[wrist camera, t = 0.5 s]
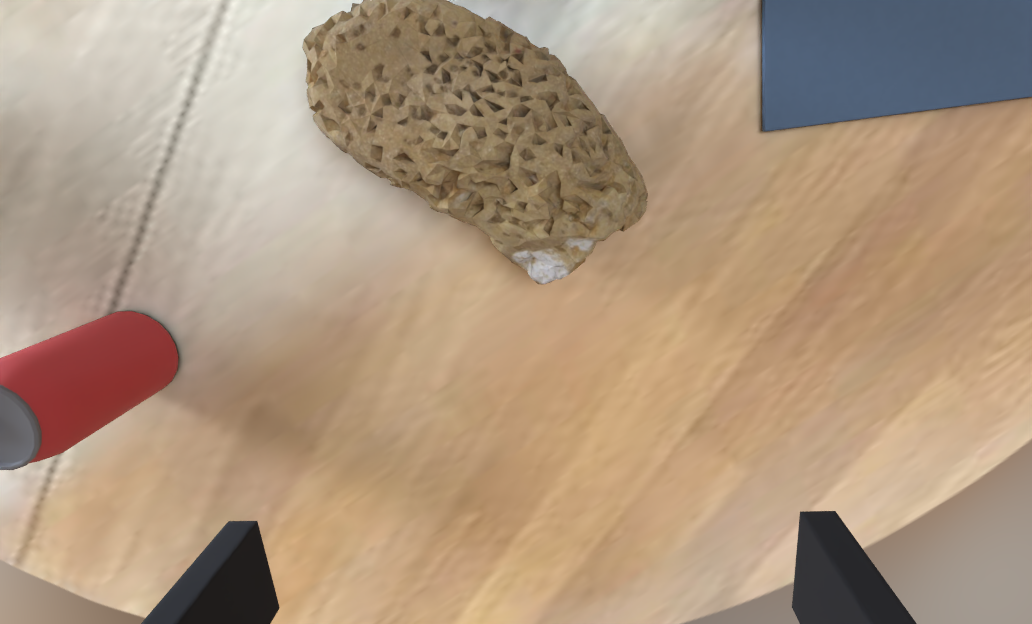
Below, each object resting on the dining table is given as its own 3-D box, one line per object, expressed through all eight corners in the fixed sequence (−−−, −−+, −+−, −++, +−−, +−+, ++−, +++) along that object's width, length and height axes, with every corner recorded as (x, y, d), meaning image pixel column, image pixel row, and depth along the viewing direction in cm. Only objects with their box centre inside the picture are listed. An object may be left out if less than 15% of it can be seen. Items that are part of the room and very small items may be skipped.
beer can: (94, 302, 42) (-81, 366, 30) (180, 314, 42) (36, 382, 30) (104, 382, 44) (-56, 470, 32) (186, 394, 44) (53, 486, 32)
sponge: (655, 167, 37) (436, -111, 30) (674, 216, 31) (399, -124, 23) (509, 278, 43) (294, 66, 35) (499, 339, 36) (232, 95, 29)
